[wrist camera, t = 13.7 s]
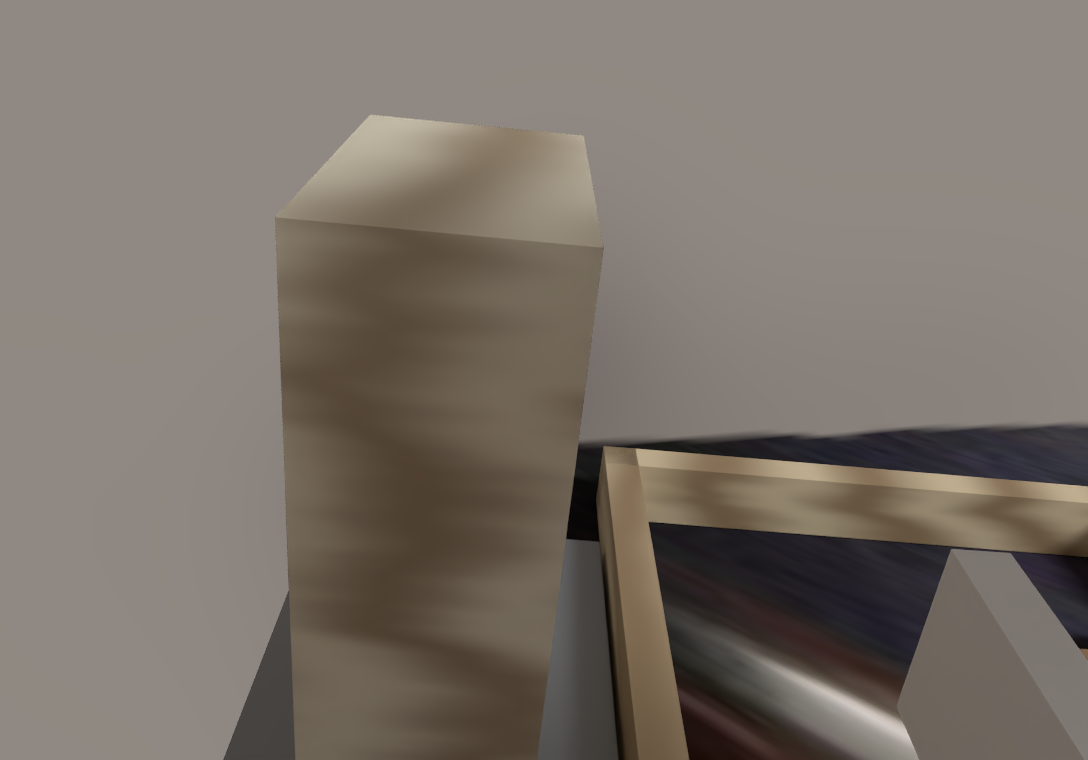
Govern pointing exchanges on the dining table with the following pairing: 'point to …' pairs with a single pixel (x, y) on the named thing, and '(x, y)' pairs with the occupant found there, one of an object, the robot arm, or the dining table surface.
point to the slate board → (571, 694)
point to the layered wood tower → (432, 432)
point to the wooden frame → (789, 507)
